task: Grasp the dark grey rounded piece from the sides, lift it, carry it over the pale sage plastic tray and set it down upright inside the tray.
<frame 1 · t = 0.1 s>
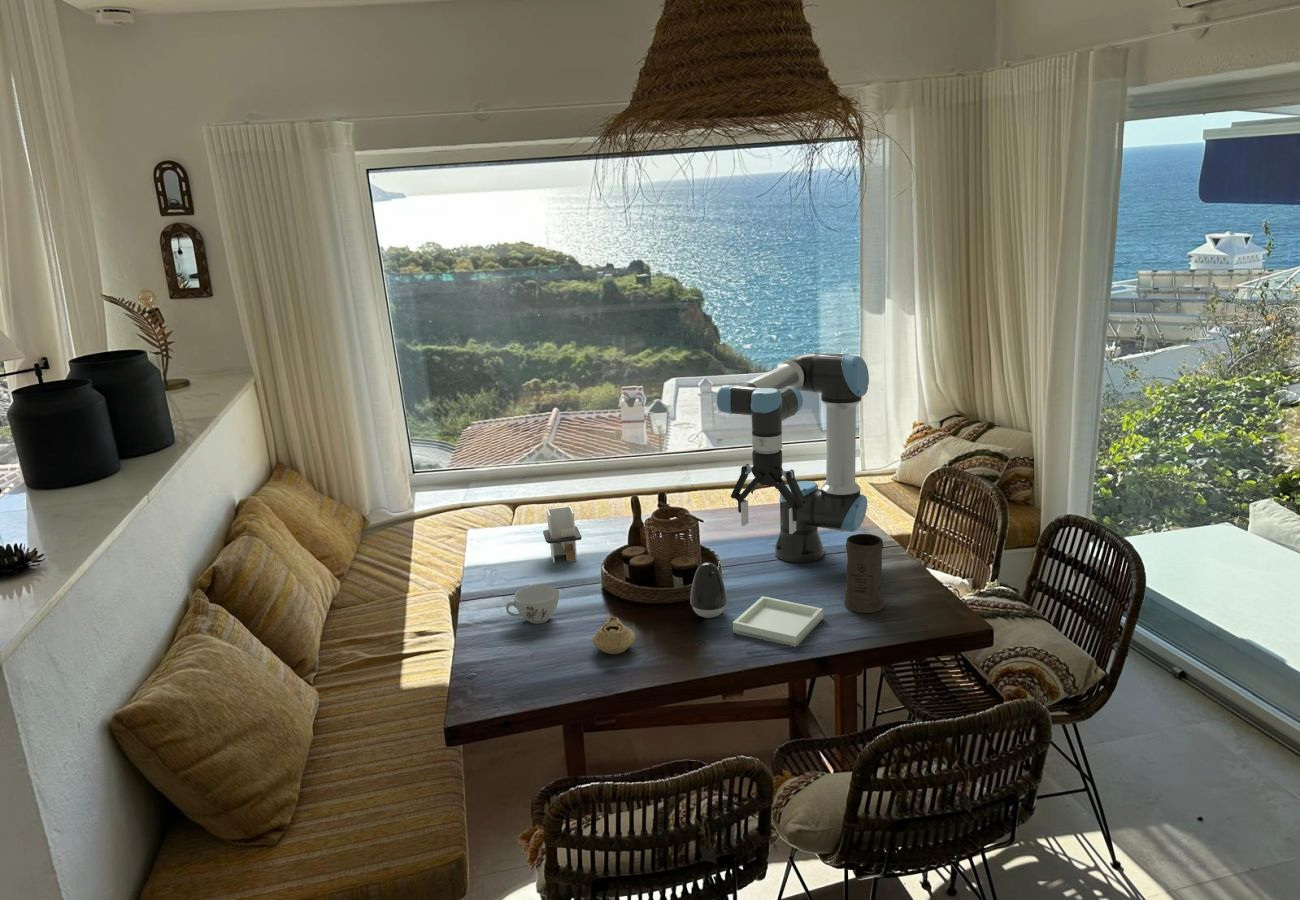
hand: (768, 528, 245), 28 cm above the table, fingers open, 13 cm apart
oil lamp: (613, 648, 246), on the table
dark grey rounded piece: (709, 614, 261), on the table
beer stein: (863, 602, 264), on the table
teacup: (534, 620, 263), on the table
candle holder: (564, 559, 306), on the table
tray: (778, 625, 252), on the table
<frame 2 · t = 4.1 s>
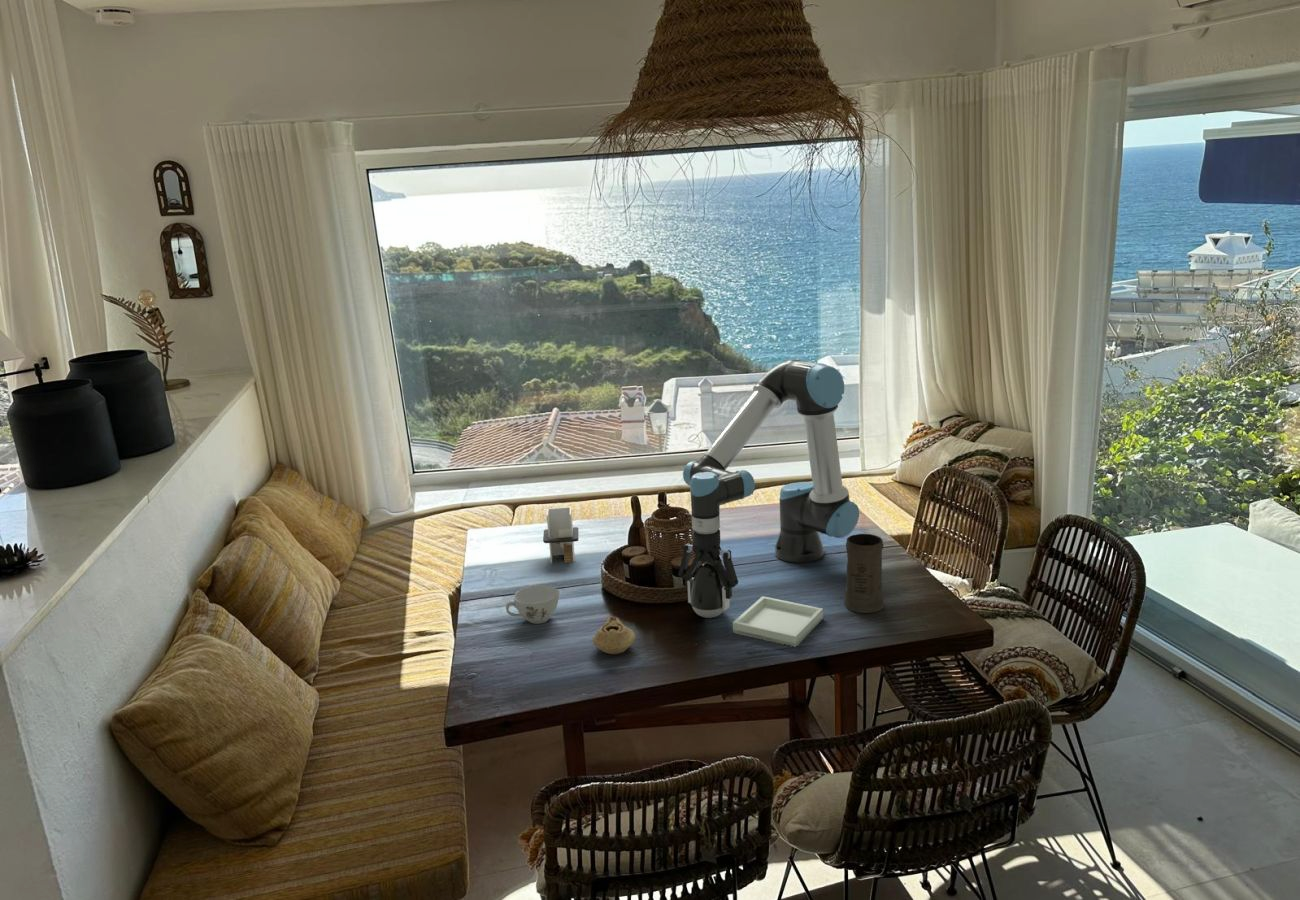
hand: (708, 604, 261), 3 cm above the table, fingers closed on dark grey rounded piece, 10 cm apart
dark grey rounded piece: (709, 614, 261), on the table, touching gripper
when the fingers open (5 cm above the table, at t = 12.0 s): dark grey rounded piece drops 1 cm, resting on tray.
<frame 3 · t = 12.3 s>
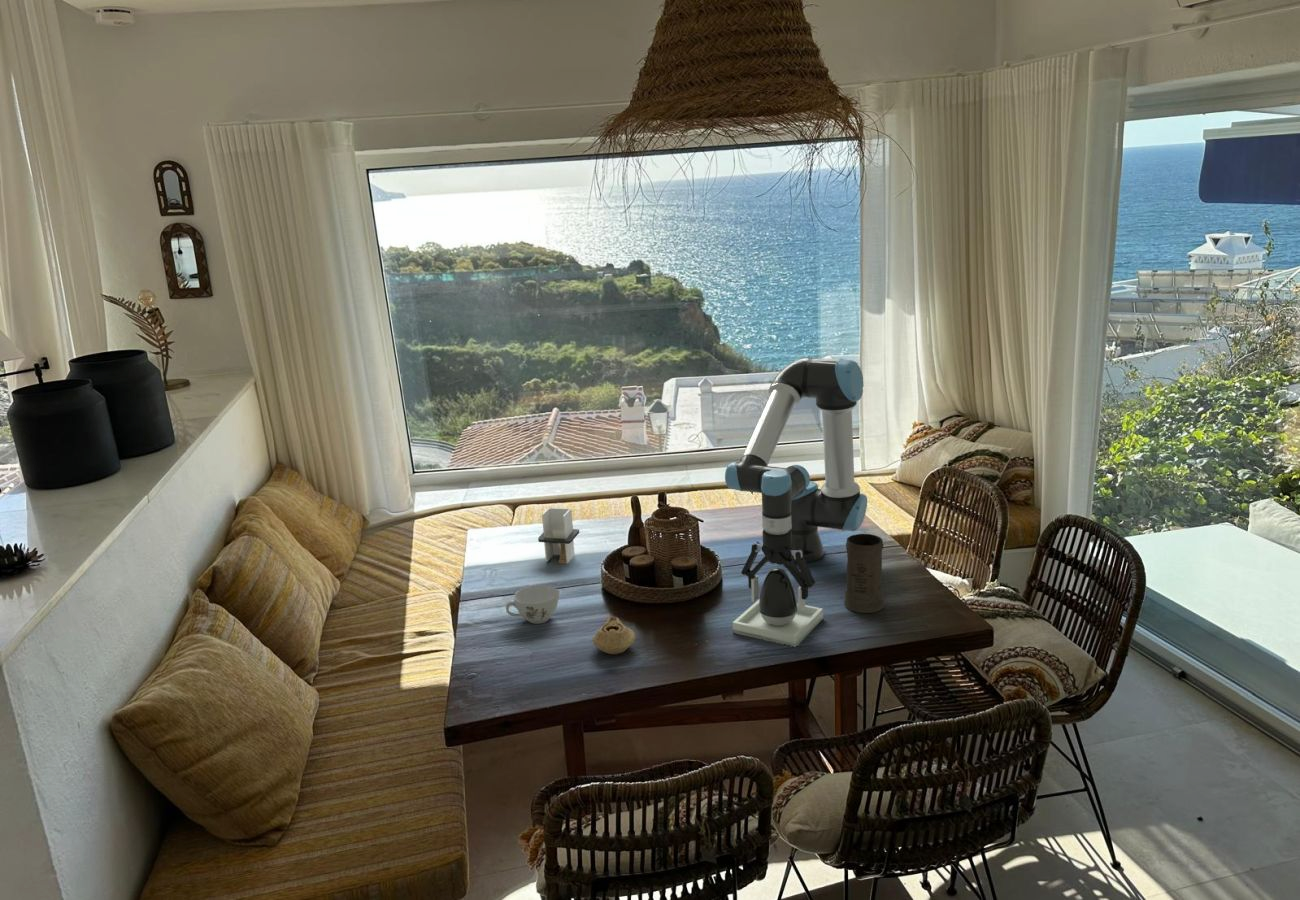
hand: (778, 604, 251), 6 cm above the table, fingers open, 13 cm apart
dark grey rounded piece: (778, 622, 252), point 1 cm above the table, touching tray
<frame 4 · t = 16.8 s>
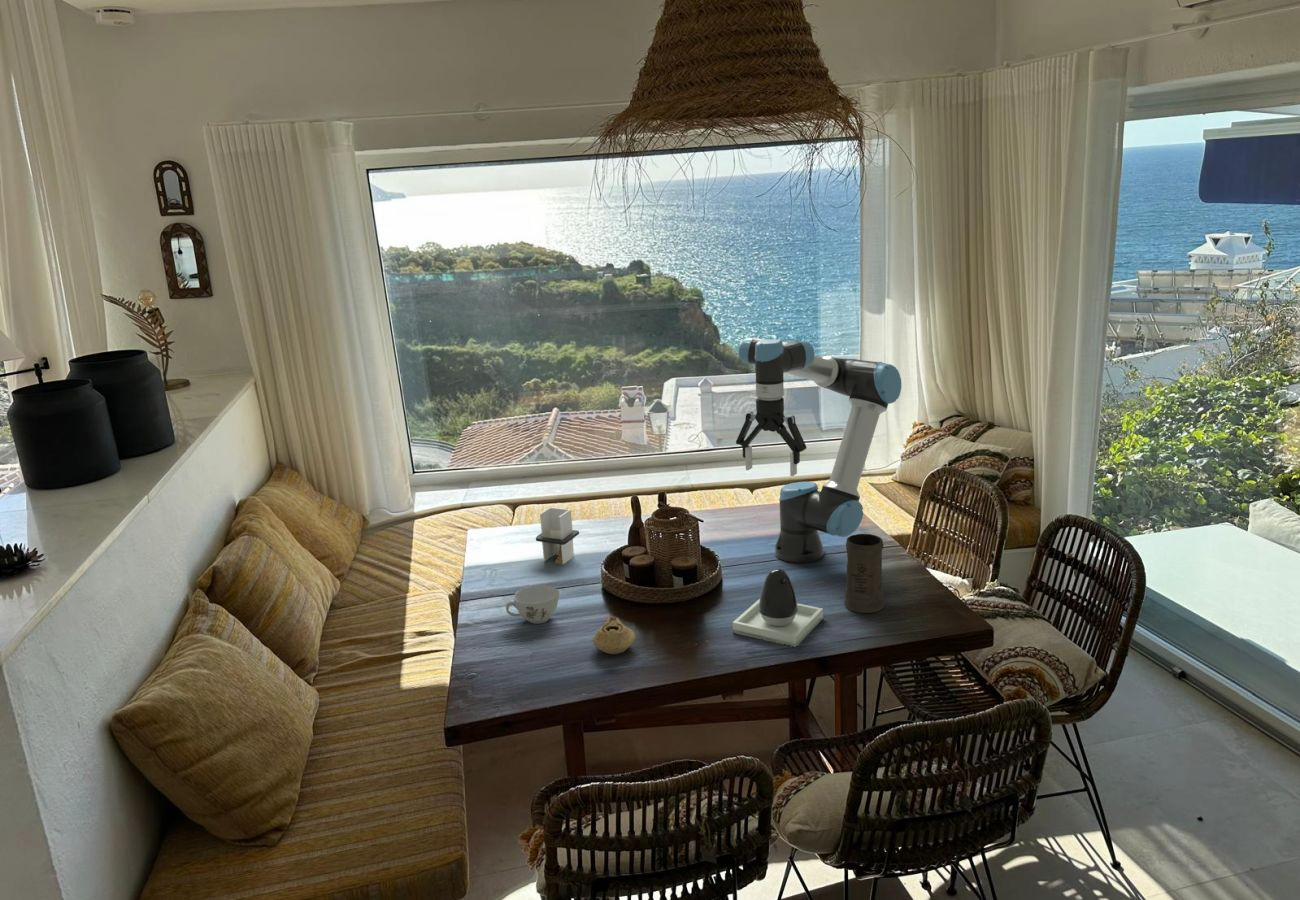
hand: (771, 471, 262), 37 cm above the table, fingers open, 13 cm apart
at the end: dark grey rounded piece inside the target area on the tray (0.1 cm from its centre), point 0.8 cm above the tray's base; dark grey rounded piece tilted 0°; the gripper is holding nothing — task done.
